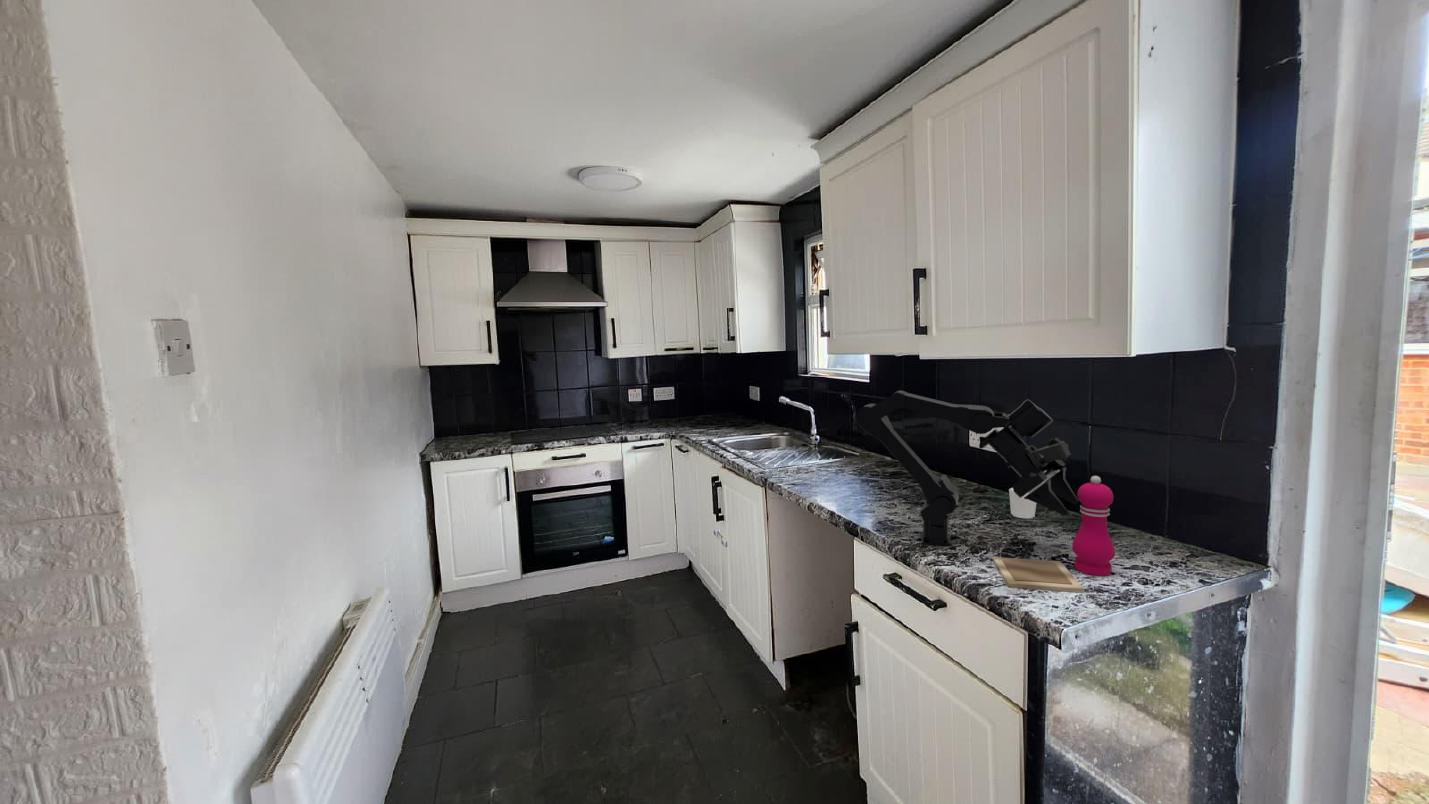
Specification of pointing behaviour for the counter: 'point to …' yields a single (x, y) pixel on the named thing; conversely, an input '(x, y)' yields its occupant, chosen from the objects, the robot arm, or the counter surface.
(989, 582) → the counter surface
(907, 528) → the counter surface
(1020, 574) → the beech tray
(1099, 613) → the counter surface
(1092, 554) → the pepper mill
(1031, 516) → the white cup
